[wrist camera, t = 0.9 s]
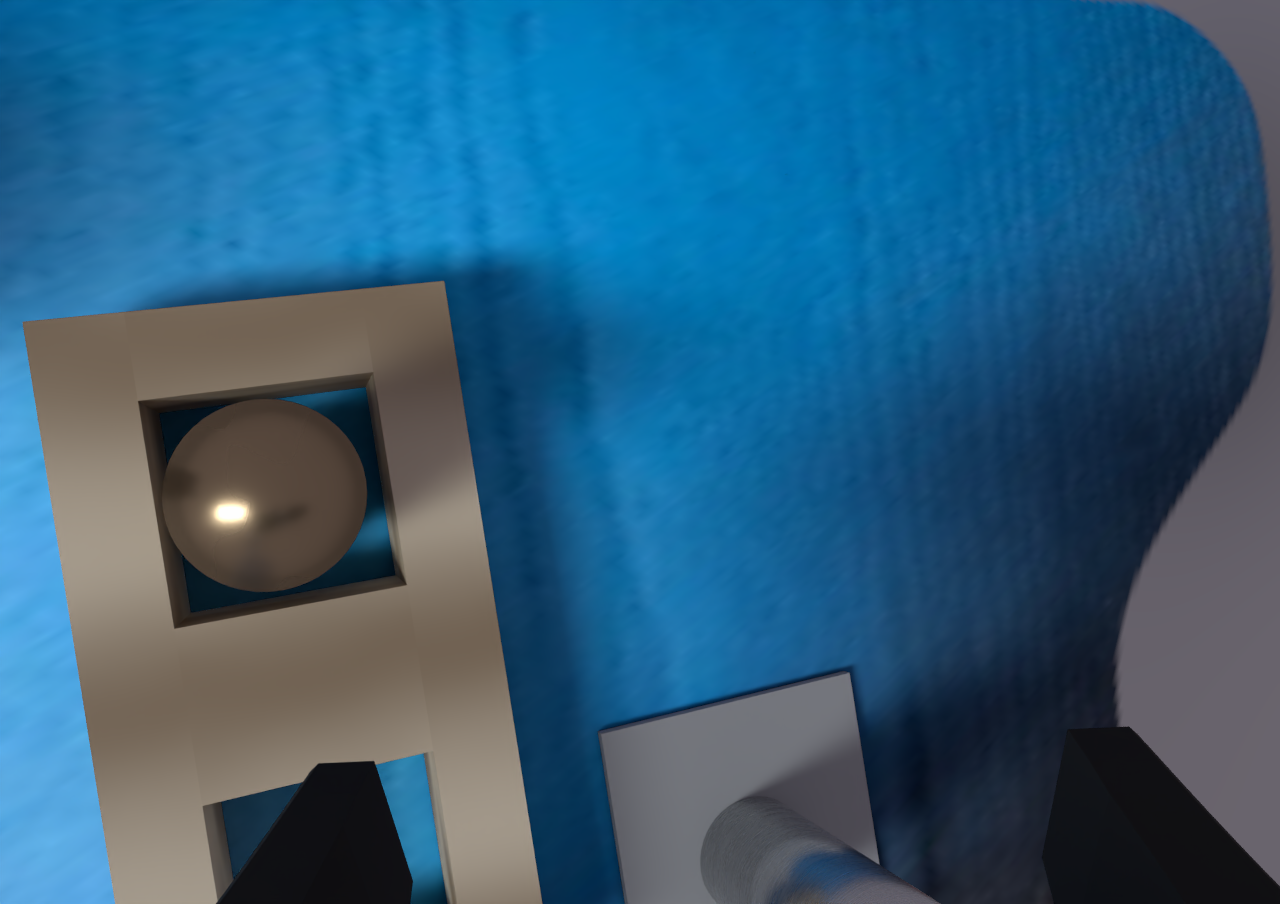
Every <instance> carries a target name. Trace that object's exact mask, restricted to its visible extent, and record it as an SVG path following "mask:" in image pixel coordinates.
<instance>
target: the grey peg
mask: <svg viewBox="0 0 1280 904" xmlns="http://www.w3.org/2000/svg"><path fill="white" fill-rule="evenodd" d="M700 868H701V875H702V879H703V882H704V885H705V887H706V889H707V891H708V893H709V894H710V895H711V897H712V898H713V899H714V900H715V901H716V902H717V904H940V903H938V902H937V901H935V900H934V899H932V898H931V897H929V896H927V895H926V894H924V893H923V892H921V891H920V890H918V889H917V888H915V887H913V886H912V885H910V884H909V883H907V882H906V881H904V880H902V879H901V878H899V877H898V876H896V875H895V874H893V873H892V872H890V871H888V870H887V869H885V868H884V867H882V866H881V865H879V864H877V863H876V862H874V861H873V860H871V859H870V858H868V857H866V856H865V855H863V854H862V853H860V852H859V851H857V850H856V849H854V848H852V847H851V846H849V845H848V844H846V843H845V842H843V841H841V840H840V839H838V838H837V837H835V836H834V835H832V834H831V833H829V832H827V831H826V830H824V829H823V828H821V827H820V826H818V825H816V824H815V823H813V822H812V821H810V820H809V819H807V818H806V817H804V816H802V815H801V814H799V813H798V812H796V811H795V810H793V809H791V808H790V807H788V806H787V805H785V804H784V803H782V802H780V801H778V800H776V799H773V798H769V797H763V796H754V797H748V798H744V799H741V800H739V801H737V802H735V803H733V804H731V805H730V806H728V807H727V808H725V809H724V810H723V811H722V812H721V813H720V814H719V815H718V816H717V817H716V818H715V820H714V821H713V822H712V824H711V825H710V827H709V829H708V831H707V833H706V835H705V838H704V840H703V844H702V848H701V855H700Z"/></svg>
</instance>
